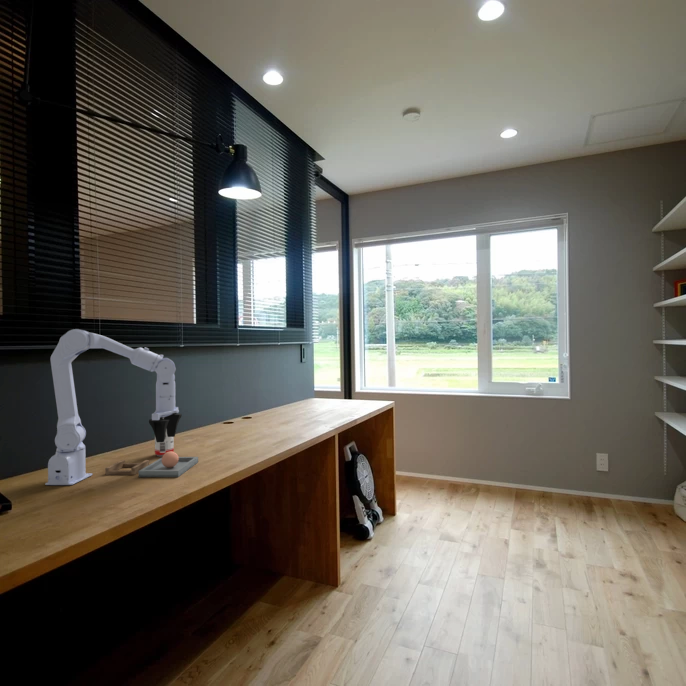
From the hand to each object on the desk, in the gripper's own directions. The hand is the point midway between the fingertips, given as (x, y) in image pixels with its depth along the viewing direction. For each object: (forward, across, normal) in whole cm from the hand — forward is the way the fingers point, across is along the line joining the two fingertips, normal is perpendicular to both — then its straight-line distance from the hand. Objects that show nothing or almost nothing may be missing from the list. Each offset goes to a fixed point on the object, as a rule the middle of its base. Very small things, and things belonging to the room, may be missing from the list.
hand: (165, 439), depth 134 cm
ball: (+6, 0, -2) cm, 6 cm away
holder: (+9, -1, +12) cm, 15 cm away
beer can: (+10, +18, +9) cm, 22 cm away
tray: (+9, 0, -2) cm, 10 cm away
